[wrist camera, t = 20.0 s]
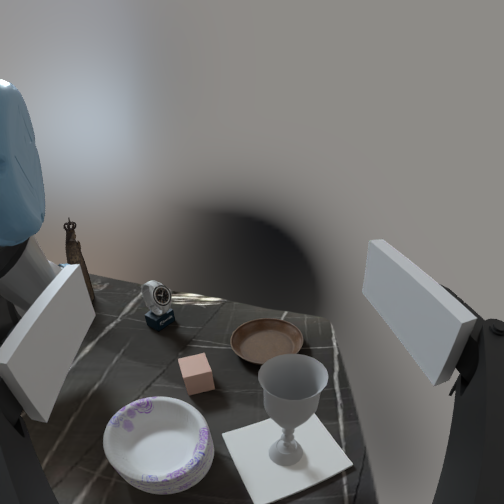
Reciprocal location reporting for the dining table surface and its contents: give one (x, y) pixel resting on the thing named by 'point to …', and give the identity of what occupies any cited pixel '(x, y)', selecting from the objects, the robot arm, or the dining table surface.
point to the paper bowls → (159, 445)
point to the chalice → (291, 399)
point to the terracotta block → (196, 374)
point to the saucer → (265, 340)
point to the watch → (157, 305)
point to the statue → (76, 255)
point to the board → (284, 477)
